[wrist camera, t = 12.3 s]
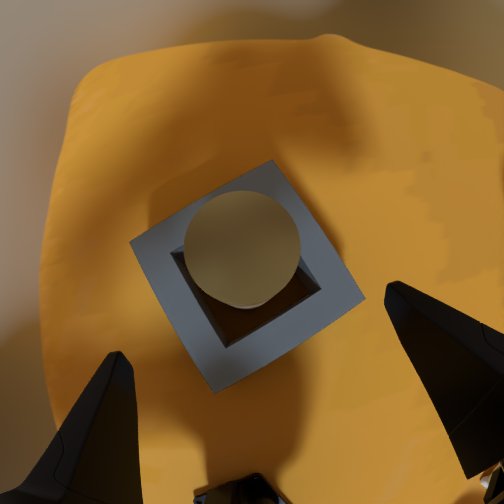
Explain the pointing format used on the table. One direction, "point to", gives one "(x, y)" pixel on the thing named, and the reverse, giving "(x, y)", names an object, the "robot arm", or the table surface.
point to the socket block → (274, 329)
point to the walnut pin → (242, 248)
